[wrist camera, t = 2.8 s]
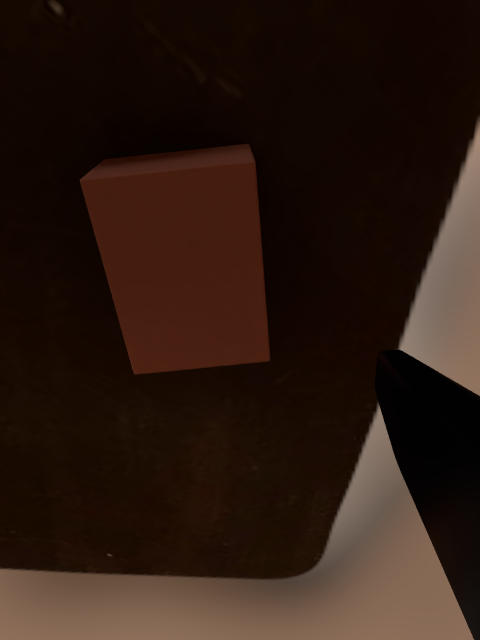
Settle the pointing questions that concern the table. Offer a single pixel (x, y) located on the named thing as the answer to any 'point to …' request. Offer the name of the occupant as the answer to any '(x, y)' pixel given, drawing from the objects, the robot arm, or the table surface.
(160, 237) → the reddish brown rectangular block
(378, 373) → the robot arm
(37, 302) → the table surface
